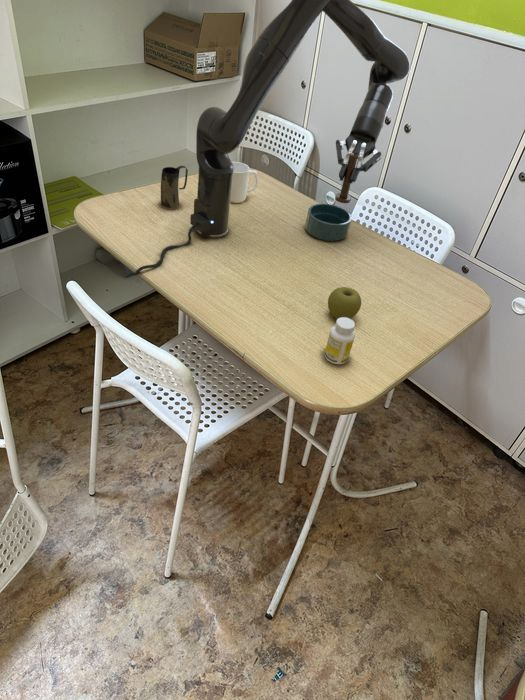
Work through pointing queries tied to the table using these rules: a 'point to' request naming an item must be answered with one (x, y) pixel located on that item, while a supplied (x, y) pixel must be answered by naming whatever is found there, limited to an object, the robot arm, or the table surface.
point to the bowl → (328, 222)
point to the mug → (171, 187)
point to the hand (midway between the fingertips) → (346, 180)
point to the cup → (241, 182)
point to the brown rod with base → (347, 180)
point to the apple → (344, 302)
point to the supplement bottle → (340, 341)
